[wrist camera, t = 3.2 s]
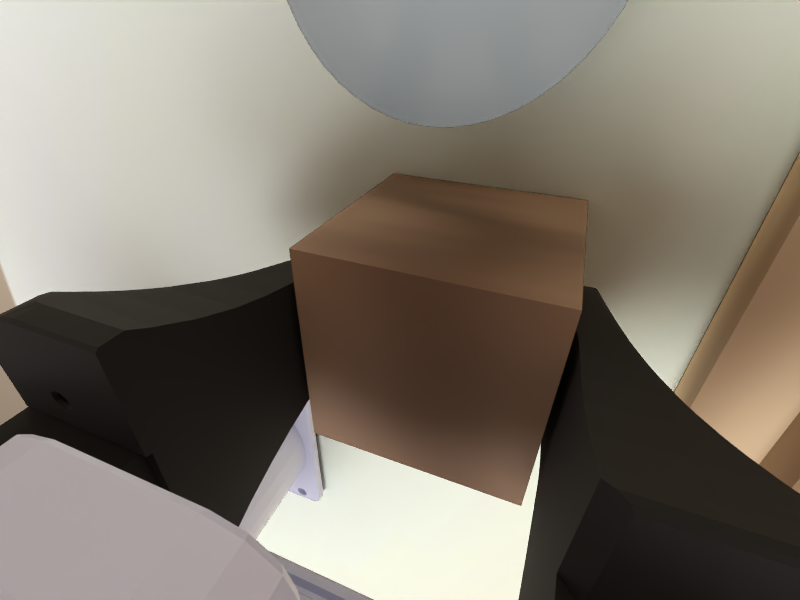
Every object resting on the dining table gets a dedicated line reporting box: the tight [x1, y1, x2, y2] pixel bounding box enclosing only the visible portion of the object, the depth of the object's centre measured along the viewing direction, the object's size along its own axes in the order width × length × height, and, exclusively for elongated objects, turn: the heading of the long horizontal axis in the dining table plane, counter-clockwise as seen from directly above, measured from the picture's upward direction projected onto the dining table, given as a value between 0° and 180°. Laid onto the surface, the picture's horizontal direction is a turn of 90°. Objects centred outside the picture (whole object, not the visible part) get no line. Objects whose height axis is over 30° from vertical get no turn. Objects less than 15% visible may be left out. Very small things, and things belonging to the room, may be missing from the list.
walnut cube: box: [289, 174, 588, 506], centre depth 10 cm, size 5×5×5 cm
